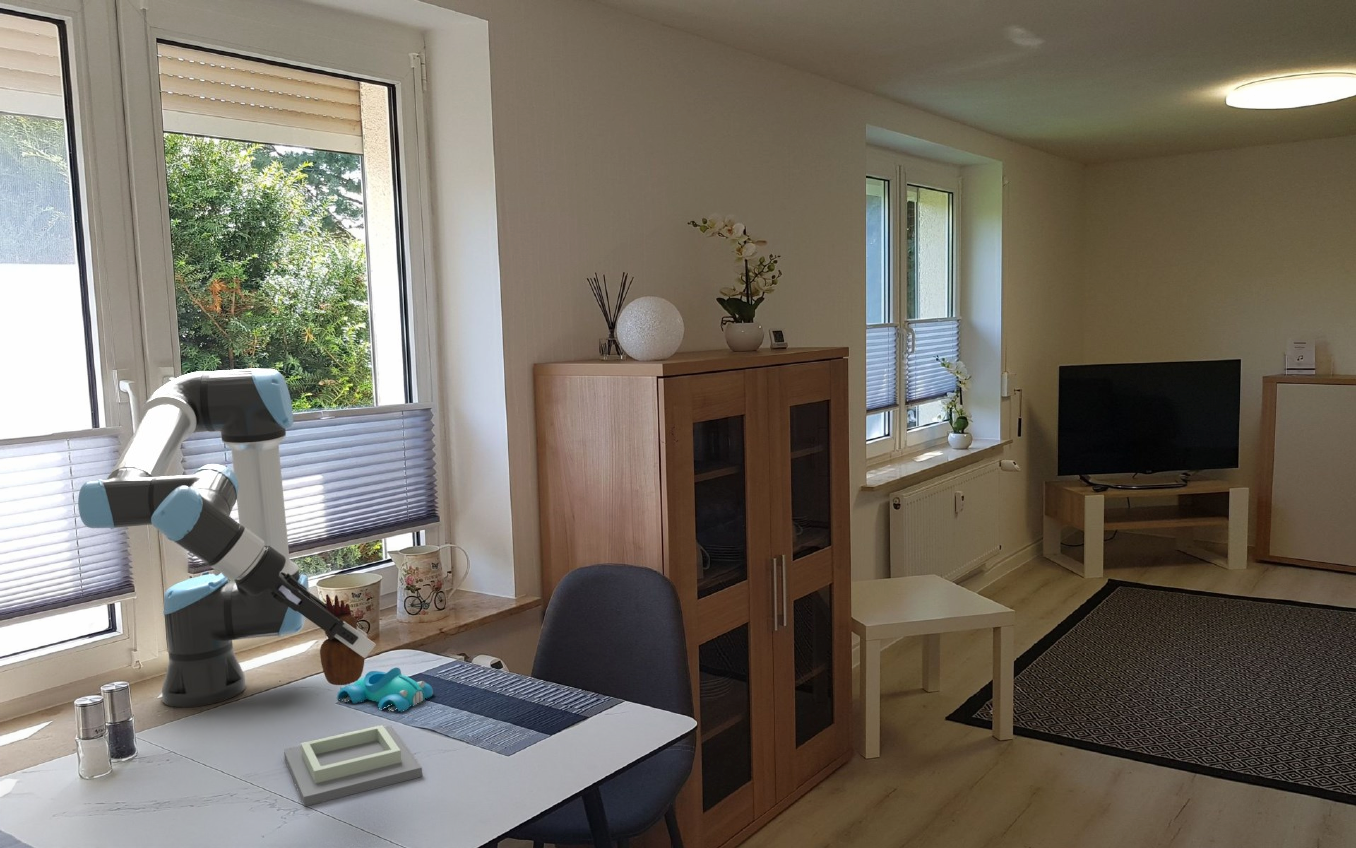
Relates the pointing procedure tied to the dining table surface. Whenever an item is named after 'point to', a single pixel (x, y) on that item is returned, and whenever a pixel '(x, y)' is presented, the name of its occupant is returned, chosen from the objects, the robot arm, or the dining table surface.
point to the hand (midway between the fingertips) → (365, 645)
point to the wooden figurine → (340, 650)
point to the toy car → (387, 690)
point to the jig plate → (350, 764)
